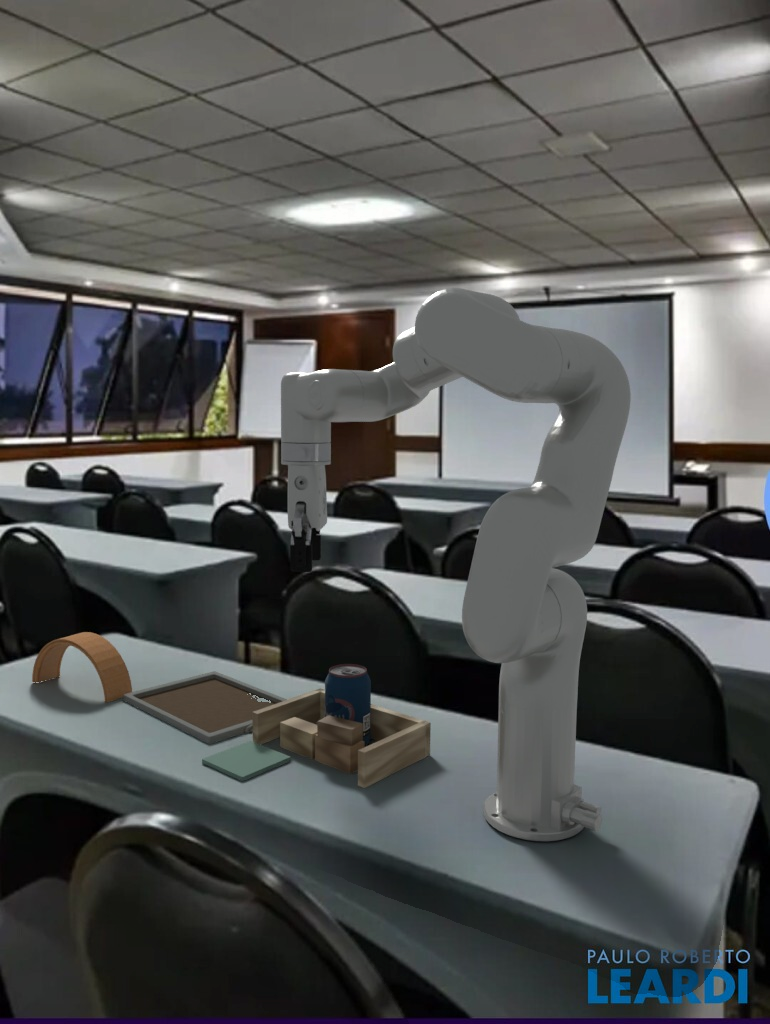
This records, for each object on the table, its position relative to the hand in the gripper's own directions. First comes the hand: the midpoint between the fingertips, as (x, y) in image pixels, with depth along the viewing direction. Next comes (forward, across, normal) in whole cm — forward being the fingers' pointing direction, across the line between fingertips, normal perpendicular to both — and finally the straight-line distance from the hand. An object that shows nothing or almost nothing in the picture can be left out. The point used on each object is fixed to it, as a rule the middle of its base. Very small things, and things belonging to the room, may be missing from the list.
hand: (306, 565), depth 127 cm
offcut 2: (+27, -11, -6) cm, 30 cm away
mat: (+27, -11, +7) cm, 30 cm away
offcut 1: (+27, -6, 0) cm, 28 cm away
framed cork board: (+28, +10, +17) cm, 34 cm away
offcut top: (+23, -11, -7) cm, 27 cm away
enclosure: (+27, -5, -6) cm, 28 cm away
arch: (+28, +18, +44) cm, 55 cm away
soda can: (+27, -5, -7) cm, 28 cm away
